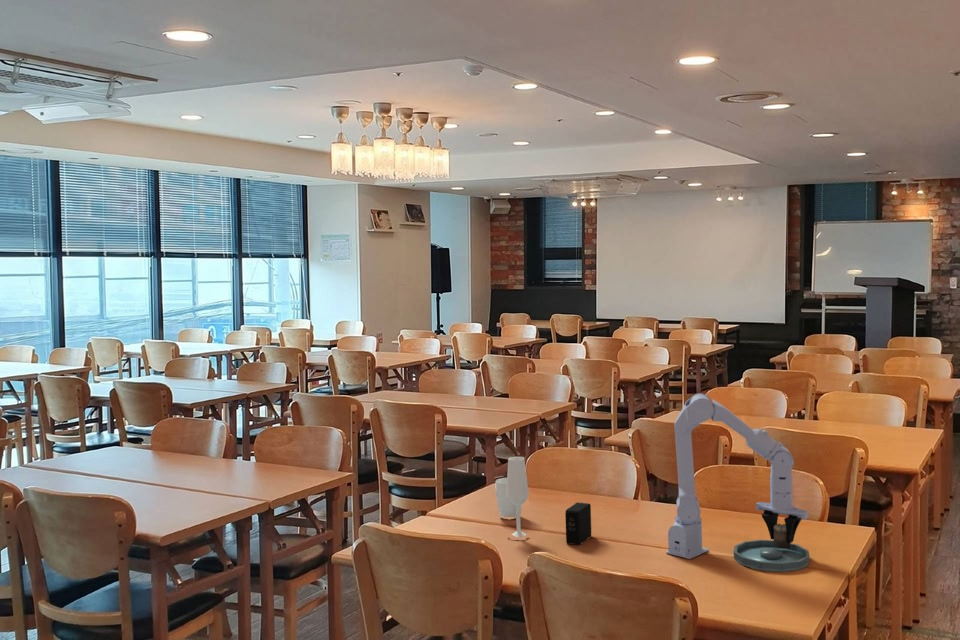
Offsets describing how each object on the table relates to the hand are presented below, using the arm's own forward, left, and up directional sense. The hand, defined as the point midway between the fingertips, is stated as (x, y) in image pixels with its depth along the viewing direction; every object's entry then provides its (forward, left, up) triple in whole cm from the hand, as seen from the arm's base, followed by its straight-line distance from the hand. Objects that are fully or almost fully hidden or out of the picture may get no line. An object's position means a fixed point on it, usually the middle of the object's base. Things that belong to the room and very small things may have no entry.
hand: (782, 540), depth 247 cm
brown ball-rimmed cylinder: (0, 0, -2) cm, 2 cm away
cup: (-24, +82, -4) cm, 85 cm away
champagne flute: (-37, +65, -4) cm, 75 cm away
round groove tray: (-6, 0, -4) cm, 7 cm away
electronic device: (-27, +50, -4) cm, 57 cm away
